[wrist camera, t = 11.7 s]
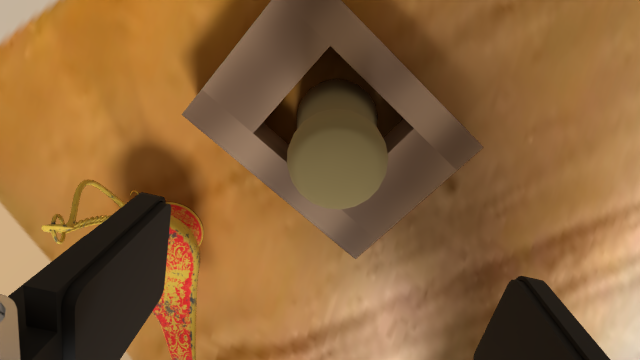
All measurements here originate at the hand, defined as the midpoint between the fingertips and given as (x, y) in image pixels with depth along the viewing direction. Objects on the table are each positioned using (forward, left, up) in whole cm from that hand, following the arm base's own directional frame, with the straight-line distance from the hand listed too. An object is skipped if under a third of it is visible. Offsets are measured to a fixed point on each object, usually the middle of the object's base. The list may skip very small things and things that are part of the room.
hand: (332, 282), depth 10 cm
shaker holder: (0, 0, -19) cm, 19 cm away
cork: (0, 0, -20) cm, 20 cm away
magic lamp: (+2, +17, -20) cm, 26 cm away
